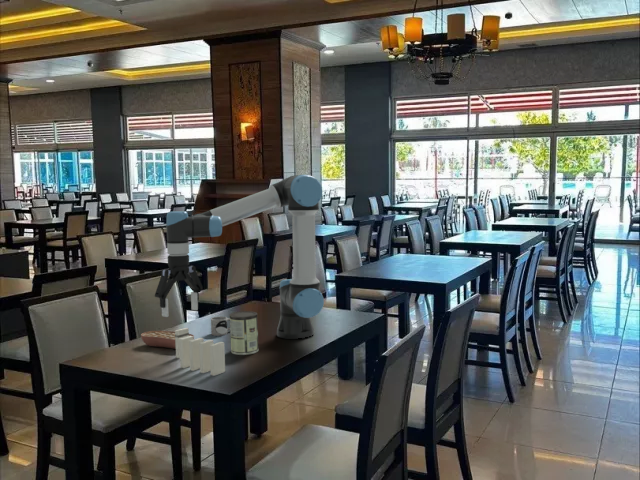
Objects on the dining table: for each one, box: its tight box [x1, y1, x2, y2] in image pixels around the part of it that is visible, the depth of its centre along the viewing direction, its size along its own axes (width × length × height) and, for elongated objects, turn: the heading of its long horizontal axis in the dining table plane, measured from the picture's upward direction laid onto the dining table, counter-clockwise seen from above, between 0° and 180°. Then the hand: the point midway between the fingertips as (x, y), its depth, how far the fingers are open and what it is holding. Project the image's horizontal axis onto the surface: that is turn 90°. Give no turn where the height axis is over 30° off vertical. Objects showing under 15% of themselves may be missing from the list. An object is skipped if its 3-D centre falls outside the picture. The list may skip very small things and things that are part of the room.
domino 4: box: [199, 339, 215, 374], centre depth 211 cm, size 2×5×10 cm, turn 143°
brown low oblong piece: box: [140, 330, 195, 350], centre depth 243 cm, size 23×10×5 cm, turn 64°
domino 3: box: [189, 337, 204, 372], centre depth 214 cm, size 2×5×10 cm, turn 143°
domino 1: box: [174, 327, 190, 359], centre depth 229 cm, size 2×5×10 cm, turn 143°
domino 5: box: [210, 341, 226, 377], centre depth 208 cm, size 2×5×10 cm, turn 143°
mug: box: [210, 315, 230, 337], centre depth 263 cm, size 10×7×7 cm
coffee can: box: [228, 310, 259, 356], centre depth 234 cm, size 10×10×14 cm
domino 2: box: [179, 336, 195, 369], centre depth 217 cm, size 2×5×10 cm, turn 143°
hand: (180, 313), depth 228 cm, fingers open, 13 cm apart
